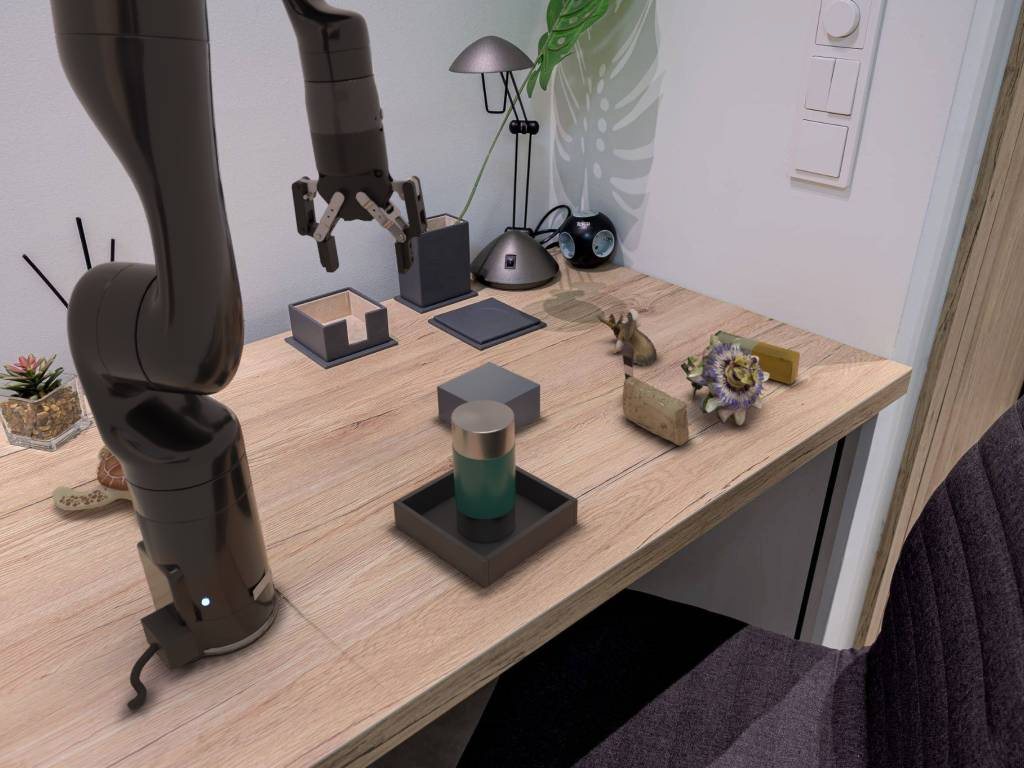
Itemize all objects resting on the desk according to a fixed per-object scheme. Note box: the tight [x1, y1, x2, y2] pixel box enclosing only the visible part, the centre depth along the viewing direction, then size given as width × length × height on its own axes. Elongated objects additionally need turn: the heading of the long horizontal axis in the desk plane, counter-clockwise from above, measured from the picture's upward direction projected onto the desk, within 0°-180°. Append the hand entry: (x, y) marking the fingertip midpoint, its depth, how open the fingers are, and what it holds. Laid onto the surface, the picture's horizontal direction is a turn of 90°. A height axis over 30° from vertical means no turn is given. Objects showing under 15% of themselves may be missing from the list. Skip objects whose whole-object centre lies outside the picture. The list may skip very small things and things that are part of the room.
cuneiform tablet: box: [621, 353, 690, 447], centre depth 100 cm, size 7×4×12 cm
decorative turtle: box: [52, 445, 132, 511], centre depth 91 cm, size 18×17×5 cm
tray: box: [392, 464, 579, 589], centre depth 84 cm, size 13×13×4 cm
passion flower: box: [680, 334, 770, 427], centre depth 103 cm, size 11×11×12 cm
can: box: [450, 400, 516, 543], centre depth 81 cm, size 6×6×13 cm
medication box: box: [713, 330, 801, 385], centre depth 113 cm, size 12×3×4 cm, turn 50°
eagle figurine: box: [596, 308, 658, 367], centre depth 118 cm, size 8×7×9 cm
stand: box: [436, 361, 541, 432], centre depth 102 cm, size 9×9×5 cm
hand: (368, 271), depth 92 cm, fingers open, 8 cm apart
